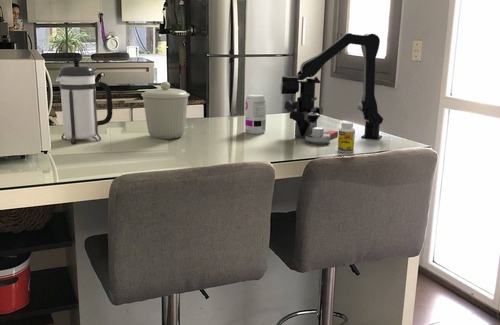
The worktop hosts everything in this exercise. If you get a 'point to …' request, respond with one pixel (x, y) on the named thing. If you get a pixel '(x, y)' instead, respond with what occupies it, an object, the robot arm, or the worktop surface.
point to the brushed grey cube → (308, 130)
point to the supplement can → (255, 114)
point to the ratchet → (320, 136)
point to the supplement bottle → (346, 137)
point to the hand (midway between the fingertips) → (305, 134)
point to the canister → (165, 111)
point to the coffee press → (81, 102)
